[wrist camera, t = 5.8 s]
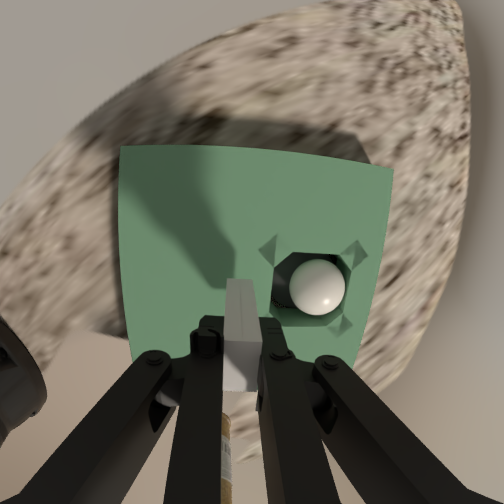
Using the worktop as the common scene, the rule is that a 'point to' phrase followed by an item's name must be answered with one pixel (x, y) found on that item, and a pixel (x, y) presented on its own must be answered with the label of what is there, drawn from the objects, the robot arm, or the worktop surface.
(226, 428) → the sprinkles bottle
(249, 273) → the putting board
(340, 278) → the ball
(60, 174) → the worktop surface
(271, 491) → the robot arm
